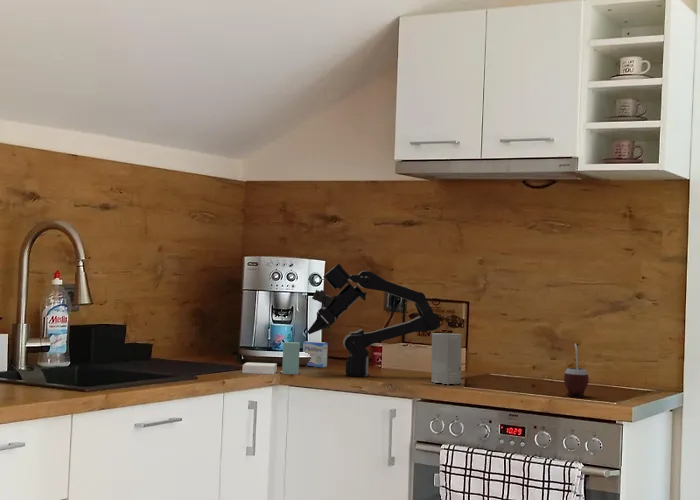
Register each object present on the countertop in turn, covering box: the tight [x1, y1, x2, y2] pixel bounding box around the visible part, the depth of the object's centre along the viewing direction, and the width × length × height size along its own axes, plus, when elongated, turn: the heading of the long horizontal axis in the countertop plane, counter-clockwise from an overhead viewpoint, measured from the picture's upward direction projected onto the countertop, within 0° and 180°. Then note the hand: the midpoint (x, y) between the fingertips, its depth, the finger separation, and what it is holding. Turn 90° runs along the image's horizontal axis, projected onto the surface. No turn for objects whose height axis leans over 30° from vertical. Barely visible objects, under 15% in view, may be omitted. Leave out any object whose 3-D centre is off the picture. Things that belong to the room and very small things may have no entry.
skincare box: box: [431, 332, 463, 385], centre depth 306 cm, size 8×7×16 cm
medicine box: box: [302, 340, 329, 368], centre depth 347 cm, size 8×4×9 cm, turn 73°
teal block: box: [281, 341, 301, 375], centre depth 319 cm, size 4×5×10 cm
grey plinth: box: [241, 362, 278, 375], centre depth 320 cm, size 10×10×2 cm
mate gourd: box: [563, 343, 589, 399], centre depth 286 cm, size 8×8×15 cm
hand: (309, 332), depth 320 cm, fingers open, 9 cm apart
